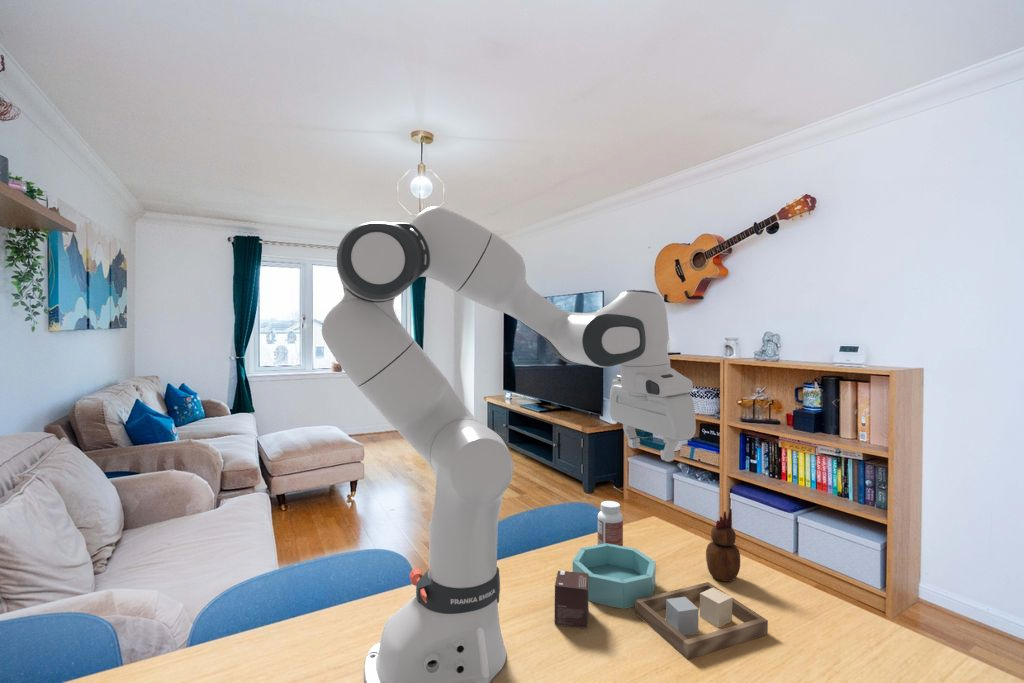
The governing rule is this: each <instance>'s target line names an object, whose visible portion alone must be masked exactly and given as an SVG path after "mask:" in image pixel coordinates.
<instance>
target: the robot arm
mask: <svg viewBox="0 0 1024 683" xmlns="http://www.w3.org/2000/svg"><path fill="white" fill-rule="evenodd" d="M524 261H525V260H524V259H523V256H522V255H521V254H520V253H519V252H518V251H517V250H516V249H515V248H514V247H513V246H511V245H510V244H509V242H507V241H506V240H504V238H501V237H500V236H499V235H497V234H496V233H494V232H492V231H491V230H489V229H488V228H486V227H484V226H482V225H481V224H479V223H478V222H476V221H473V220H472V219H470V218H468V217H466V216H464V215H462V214H459V213H457V212H454V211H453V210H450V209H447V208H445V207H441V206H437V205H436V206H435V205H433V206H429V207H427V208H425V209H423V210H422V211H420V212H419V213H418V214H417V215H416V216H415V217H414V218H413V219H412V221H411V223H407V222H388V221H369V222H365V223H361V224H359V225H356V226H355V227H353V228H352V229H351V230H348V232H347V233H346V234H345V235H344V236H343V238H342V239H341V241H340V243H339V245H338V248H337V252H336V269H337V272H338V273H337V274H338V277H339V278H340V282H341V284H342V287H343V288H342V289H343V293H344V295H343V297H342V299H341V300H340V301H339V302H338V303H337V304H336V305H334V306H333V307H332V308H331V310H329V312H328V313H327V314H326V316H325V318H324V319H323V323H322V324H321V335H322V338H323V340H324V342H325V344H326V346H327V347H328V349H329V350H330V352H331V354H332V356H333V357H334V359H335V360H336V362H337V363H338V365H339V366H340V367H341V369H342V370H343V371H344V373H345V374H346V375H347V376H348V378H349V380H351V381H352V382H353V384H355V386H356V388H358V389H359V390H360V391H361V393H362V394H363V395H364V397H366V398H367V399H368V401H369V402H371V405H373V406H374V407H375V408H376V409H377V410H378V411H379V412H380V414H381V415H382V416H383V417H384V418H385V420H386V421H387V422H388V423H389V424H390V425H391V426H392V428H394V429H395V430H396V432H398V433H399V434H400V435H401V436H402V438H404V439H405V441H407V442H408V444H409V445H410V446H411V447H412V448H413V449H414V450H415V451H416V452H417V454H419V455H420V456H421V458H422V459H423V460H424V461H425V462H426V463H427V465H428V466H429V468H431V470H432V471H433V474H434V478H435V495H434V503H433V509H432V516H431V519H430V521H429V524H428V530H429V531H428V537H429V538H428V569H427V570H426V572H425V573H424V574H422V570H420V569H419V568H414V569H412V570H411V572H410V573H409V579H410V583H411V584H412V585H413V586H415V588H416V589H415V595H414V596H413V597H412V598H411V599H410V600H409V601H407V602H406V603H405V604H404V605H403V606H402V607H401V608H399V609H398V610H397V611H395V612H394V613H393V614H392V615H391V616H390V617H389V618H388V619H387V620H386V622H385V624H384V626H383V628H382V631H381V636H380V640H379V641H380V642H378V643H377V642H376V643H375V644H374V645H372V646H371V647H370V649H369V650H368V652H367V654H366V657H365V660H364V667H363V677H364V679H363V680H364V683H491V681H492V680H493V679H494V678H495V677H496V676H497V675H498V674H499V672H500V671H501V670H502V668H503V667H504V665H505V663H506V659H507V650H506V647H505V644H504V640H503V636H502V635H503V634H502V630H501V625H500V617H499V616H500V613H499V603H500V594H501V579H500V578H501V576H500V568H499V567H498V525H499V518H500V514H501V507H502V503H503V498H504V493H505V492H506V490H507V489H508V487H509V486H510V484H511V482H512V478H513V475H514V461H513V457H512V454H511V452H510V450H509V448H508V446H507V445H506V443H505V441H504V440H503V439H502V437H501V436H500V435H499V434H498V433H497V432H495V430H493V429H491V428H489V427H488V426H486V425H485V424H484V423H482V422H481V421H479V420H478V419H477V418H476V417H475V416H474V415H473V413H471V411H470V410H469V409H468V407H467V406H466V405H465V404H464V402H463V401H462V399H461V398H460V397H459V395H458V394H457V393H456V391H455V389H454V388H453V387H452V386H451V383H450V382H449V380H448V379H447V378H446V375H444V374H443V373H442V371H441V370H440V369H439V367H438V366H437V365H436V364H435V363H434V362H433V360H432V359H431V358H430V356H428V354H427V353H426V352H425V350H423V349H422V347H421V346H420V344H418V342H417V341H416V340H415V339H414V338H413V336H412V335H411V334H410V333H409V332H408V331H407V329H406V328H405V327H404V326H403V324H402V323H401V322H400V320H399V318H398V317H397V314H396V312H395V307H394V302H395V299H396V298H398V297H399V296H400V295H401V294H402V293H403V292H405V291H406V290H407V289H408V288H409V287H410V286H411V285H412V284H414V283H415V281H416V280H417V279H418V278H420V277H425V278H430V279H432V280H435V281H436V282H437V281H438V282H440V283H442V284H443V285H445V286H446V287H448V288H450V289H452V290H453V291H455V292H456V293H458V294H460V295H461V296H462V297H464V298H466V299H469V300H471V301H473V302H475V303H477V304H479V305H482V306H485V307H487V308H490V309H493V310H496V311H498V312H501V313H503V314H506V315H508V316H510V317H511V318H514V320H516V321H518V322H519V323H521V324H523V325H525V327H527V328H528V329H530V330H532V331H534V332H535V333H536V334H538V335H539V336H540V337H541V338H543V339H544V340H545V341H546V343H547V344H548V345H549V347H550V348H551V349H552V351H553V352H554V353H555V356H557V357H558V358H559V359H560V360H562V361H563V362H566V363H568V364H571V365H572V364H573V365H585V366H586V365H587V366H591V367H598V368H610V367H615V366H618V365H619V367H620V368H619V370H620V372H619V373H620V374H617V375H615V377H613V379H612V380H611V381H612V382H611V387H610V391H609V405H608V406H609V409H608V410H609V411H608V412H609V416H610V418H611V420H612V421H613V422H617V423H620V424H622V429H623V432H624V434H625V436H626V438H627V446H628V447H629V448H632V449H638V448H640V447H641V443H640V442H641V440H640V439H641V438H640V437H638V436H637V432H636V429H638V430H641V431H645V432H648V433H651V434H653V435H657V436H660V437H662V438H663V443H664V444H665V445H664V448H663V449H660V450H659V451H660V458H661V460H662V461H665V462H668V463H669V462H672V461H674V460H675V450H676V448H677V446H678V444H679V443H680V442H681V441H682V442H683V441H687V440H690V439H692V438H694V436H695V434H696V431H697V425H696V424H697V423H696V421H697V420H696V409H695V403H694V399H693V397H692V396H691V395H690V393H692V392H693V390H694V385H693V384H694V383H693V381H692V379H690V378H688V377H686V376H684V375H683V374H682V373H680V372H679V371H677V370H675V369H674V368H672V367H671V358H670V356H669V353H668V344H669V340H670V334H669V324H668V323H669V322H668V313H667V308H666V305H665V302H664V299H663V297H662V296H661V295H660V294H658V293H657V292H654V291H649V290H646V289H644V290H642V289H640V290H639V289H638V290H637V289H628V290H624V291H621V292H620V293H619V295H618V296H617V297H616V298H614V299H613V300H612V301H611V302H610V303H608V304H607V305H605V306H604V307H601V308H599V309H597V310H595V311H593V312H579V311H570V310H569V311H568V310H564V309H562V308H560V307H559V306H558V305H556V304H555V303H553V302H551V301H550V300H549V299H547V297H544V296H543V295H541V294H540V293H538V292H537V291H536V290H535V289H533V288H532V287H531V286H530V285H529V284H528V282H527V279H526V276H527V272H526V265H525V262H524Z"/></svg>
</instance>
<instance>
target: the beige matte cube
mask: <svg viewBox="0 0 1024 683" xmlns="http://www.w3.org/2000/svg"><path fill="white" fill-rule="evenodd" d="M721 591H722V590H721ZM721 591H719V590H717V589H715V588H711V589H708V590H706V591H704V592H702V593H700V600H699V617H700V618H701V619H703V620H705V621H707V623H709V624H711V625H713V626H714V627H717V628H718V629H719V628H721V627H723V626H725V625H726V624H729V623H731V622H732V621H733V614H732V598H733V597H732V596H730V595H729V594H728V593H726V592H724V591H723V592H724V593H723V592H721ZM725 593H726V594H725ZM727 594H728V595H727Z"/></svg>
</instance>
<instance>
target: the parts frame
mask: <svg viewBox="0 0 1024 683" xmlns="http://www.w3.org/2000/svg"><path fill="white" fill-rule="evenodd" d="M711 588H715V589H717V590H719V591H721V592H723V593H725V594H727V595H729V594H728V593H726V592H725V591H723V590H721V589H720V588H718V587H717V586H715V585H714V584H712V583H710V582H709V581H707V582H703V583H699V584H693V585H691V586H690V585H689V586H686V587H682V588H677V589H674V590H670V591H666V592H662V593H657V594H653V596H649V597H644V598H640V599H636V600H635V606H634V613H635V614H636V615H637V616H638V617H639V618H640V619H641V620H642V621H644V623H646V624H647V625H648V626H649V627H650V628H652V630H654V631H655V632H656V633H657V634H658V635H659V636H660V637H661V638H663V639H664V640H665V641H666V642H667V643H668V644H669V645H670V646H672V647H673V648H674V649H675V650H677V651H678V653H680V654H681V655H682V656H683V657H684V658H685V659H686V660H688V661H689V660H690V659H693V658H696V657H697V658H698V657H700V656H702V655H706V654H710V653H713V652H716V651H719V650H722V649H724V648H729V647H731V646H735V645H738V644H742V643H744V642H748V641H750V640H754V639H757V638H760V637H764V636H767V635H768V634H769V633H768V632H769V631H768V630H769V629H768V628H769V624H768V623H769V621H768V619H767V618H765V617H763V615H760V614H759V613H756V611H754V610H752V609H751V608H749V607H747V605H744V604H743V603H741V602H740V601H739V600H737V599H735V598H734V597H732V616H734V617H735V618H737V619H739V620H740V621H741V622H742V623H739V624H735V625H731V626H728V627H725V628H722V629H717V630H716V631H712V632H708V633H706V634H702V635H698V636H695V637H691V638H688V637H686V636H684V635H682V634H681V633H680V632H679V631H678V630H676V629H675V628H674V627H673V626H672V625H670V624H669V623H668V622H667V621H666V619H664V618H663V617H662V616H661V615H660V614H658V613H657V612H658V611H662V610H666V599H672V598H679V597H686V598H687V599H688V600H689V601H691V602H692V603H693V602H696V601H700V593H702V592H704V591H706V590H708V589H711Z"/></svg>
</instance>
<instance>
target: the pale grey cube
mask: <svg viewBox="0 0 1024 683" xmlns="http://www.w3.org/2000/svg"><path fill="white" fill-rule="evenodd" d="M699 616H700V608H698V607H697V606H696V605H695V604H694V603H693V602H691V601H689V600H688V599H687V598H686V597H679V598H672V599H666V609H665V620H666V621H667V622H668V623H669V624H670V625H672V626H673V627H674V628H675V629H676V630H678V631H679V632H680V633H681V634H682V635H684V636H685V637H686V636H691V635H696V634H699Z"/></svg>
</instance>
